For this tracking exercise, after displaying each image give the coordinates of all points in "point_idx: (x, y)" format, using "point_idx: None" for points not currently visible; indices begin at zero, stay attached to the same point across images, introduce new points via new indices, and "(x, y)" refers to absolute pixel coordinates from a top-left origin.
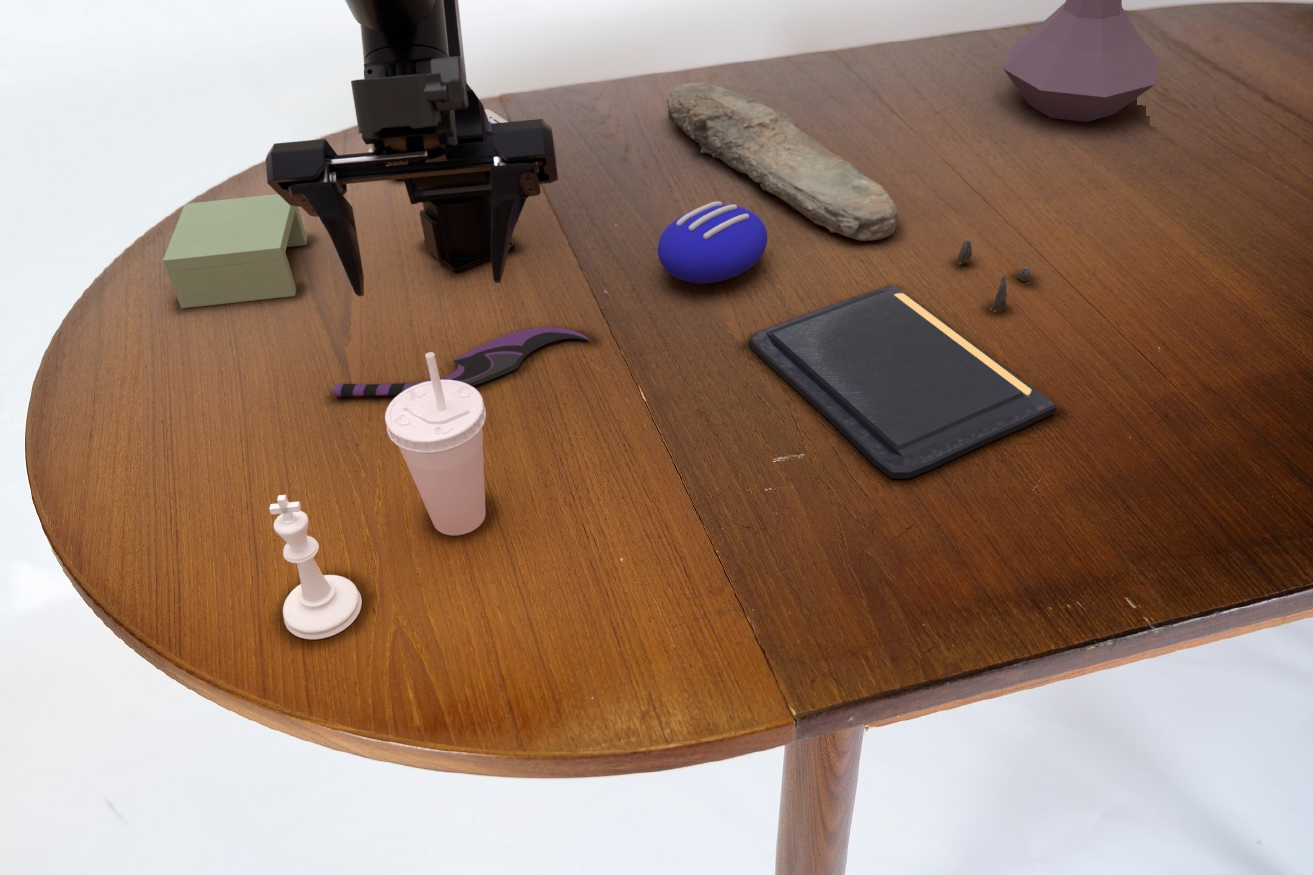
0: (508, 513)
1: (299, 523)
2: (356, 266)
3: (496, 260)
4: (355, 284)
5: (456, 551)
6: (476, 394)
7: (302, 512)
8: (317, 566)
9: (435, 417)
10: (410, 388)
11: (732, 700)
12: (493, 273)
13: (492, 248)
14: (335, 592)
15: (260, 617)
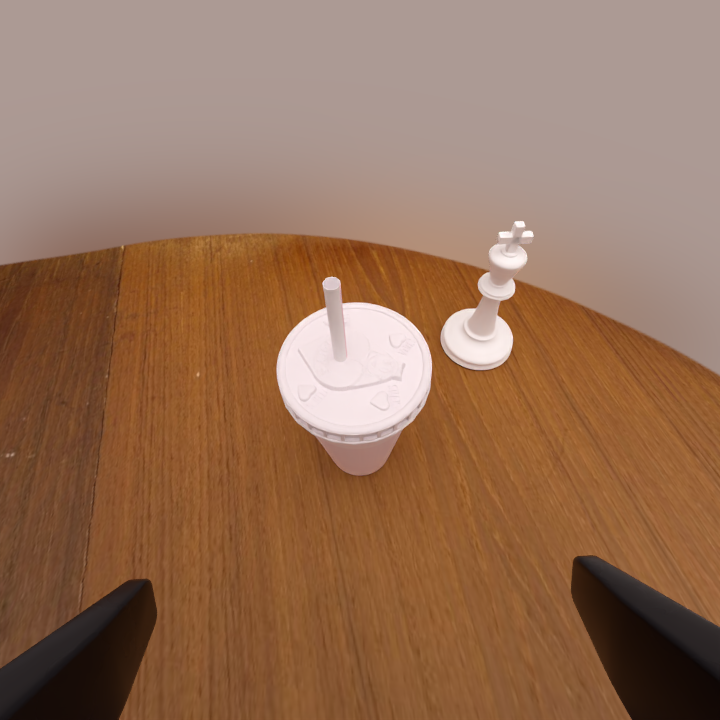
0: (304, 445)
1: (495, 247)
2: (634, 610)
3: (92, 615)
4: (603, 569)
5: None
6: (285, 386)
7: (499, 261)
8: (480, 306)
9: (348, 336)
10: (400, 411)
11: (157, 254)
12: (136, 587)
13: (69, 650)
14: (464, 332)
15: (531, 338)
